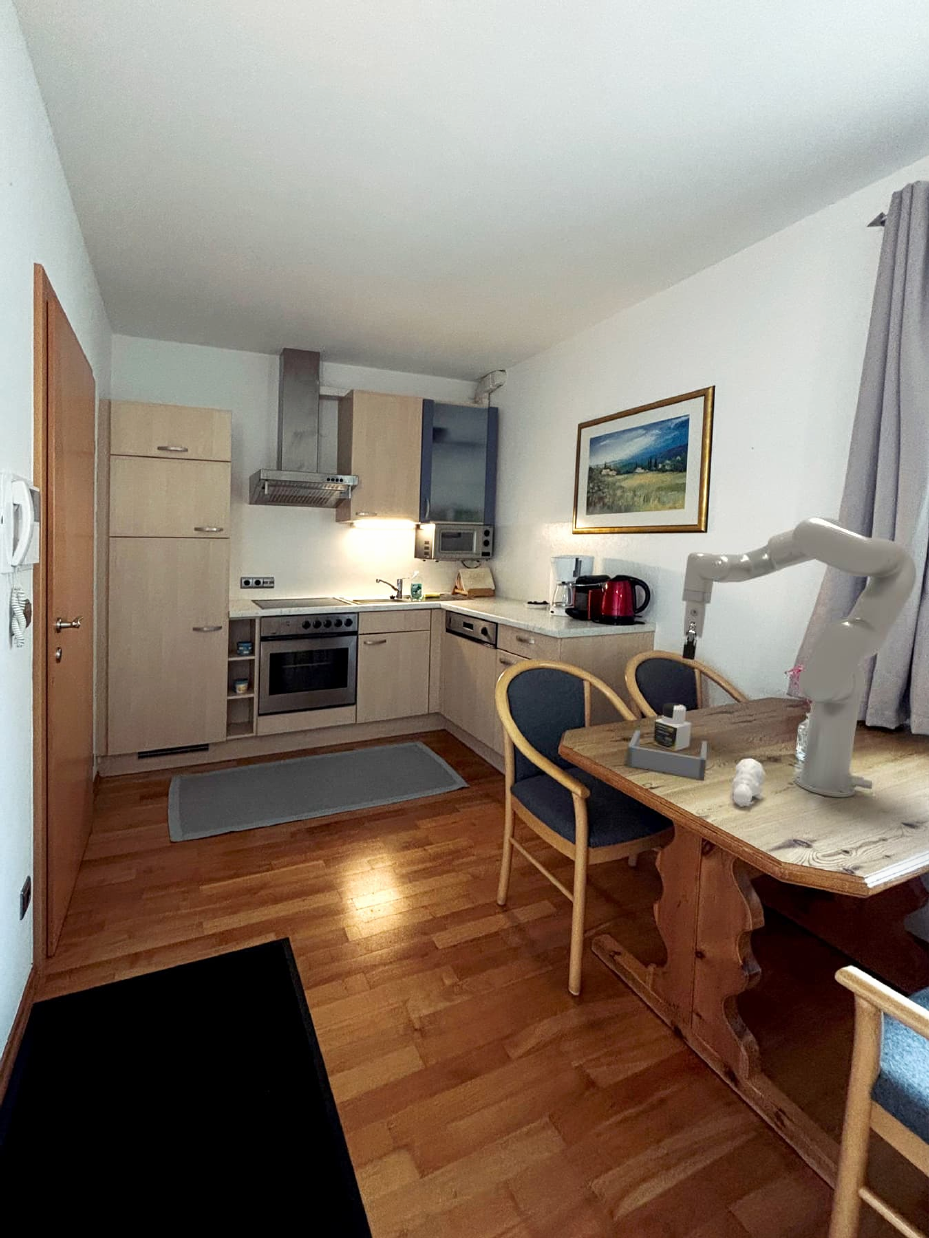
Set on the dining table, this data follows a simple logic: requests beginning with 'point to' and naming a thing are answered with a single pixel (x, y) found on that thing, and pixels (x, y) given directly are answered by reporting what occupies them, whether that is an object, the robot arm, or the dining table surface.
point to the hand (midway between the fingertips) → (688, 655)
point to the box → (666, 760)
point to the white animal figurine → (747, 781)
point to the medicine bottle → (672, 728)
